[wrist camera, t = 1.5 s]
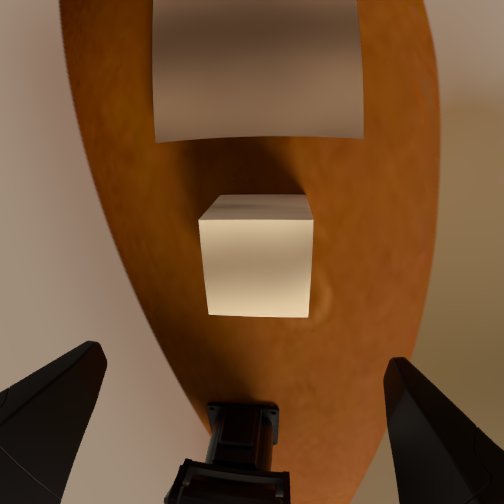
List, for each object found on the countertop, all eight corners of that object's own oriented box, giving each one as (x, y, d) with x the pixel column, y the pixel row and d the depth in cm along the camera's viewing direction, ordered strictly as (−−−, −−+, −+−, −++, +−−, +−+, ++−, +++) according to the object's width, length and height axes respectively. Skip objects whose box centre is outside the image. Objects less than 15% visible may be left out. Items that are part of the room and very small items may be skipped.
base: (350, 136, 16) (363, 138, 13) (175, 139, 17) (155, 142, 14) (341, -18, 12) (350, -40, 9) (173, -10, 13) (154, -28, 10)
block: (303, 271, 20) (307, 317, 15) (225, 270, 20) (208, 314, 16) (306, 194, 18) (313, 220, 13) (220, 194, 18) (198, 220, 14)
